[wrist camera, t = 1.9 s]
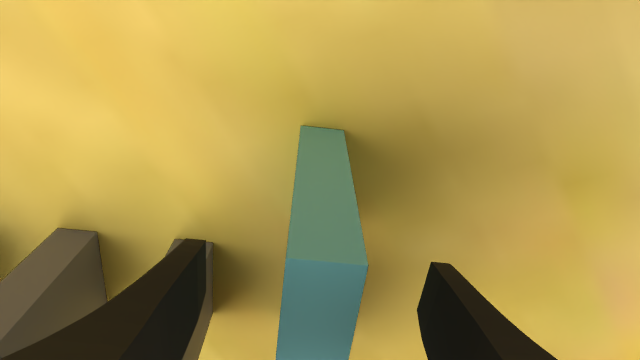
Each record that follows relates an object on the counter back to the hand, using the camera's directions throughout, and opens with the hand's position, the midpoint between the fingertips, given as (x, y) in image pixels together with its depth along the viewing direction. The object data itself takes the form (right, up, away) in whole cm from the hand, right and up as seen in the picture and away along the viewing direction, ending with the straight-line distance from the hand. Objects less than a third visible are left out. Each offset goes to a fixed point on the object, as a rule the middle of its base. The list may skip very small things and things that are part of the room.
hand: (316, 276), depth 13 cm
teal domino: (0, +3, +7) cm, 8 cm away
